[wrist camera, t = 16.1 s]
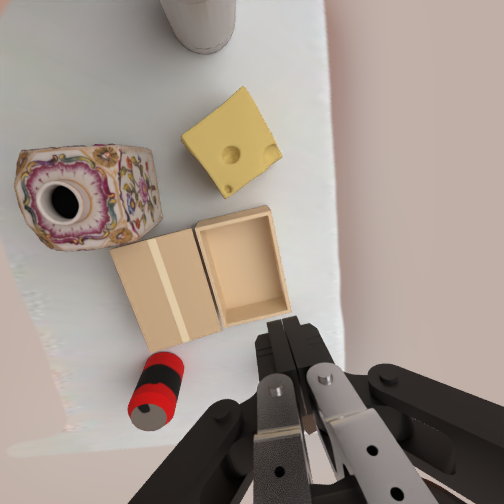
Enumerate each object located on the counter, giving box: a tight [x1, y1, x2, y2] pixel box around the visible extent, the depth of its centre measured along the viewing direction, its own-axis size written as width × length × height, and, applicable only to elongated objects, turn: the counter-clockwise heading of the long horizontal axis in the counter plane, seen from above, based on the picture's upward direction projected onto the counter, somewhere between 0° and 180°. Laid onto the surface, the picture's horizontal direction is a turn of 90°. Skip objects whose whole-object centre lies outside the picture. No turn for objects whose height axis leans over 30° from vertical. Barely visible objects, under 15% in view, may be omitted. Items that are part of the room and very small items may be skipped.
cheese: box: [181, 86, 282, 199], centre depth 41 cm, size 10×11×10 cm
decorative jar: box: [14, 144, 163, 251], centre depth 38 cm, size 12×12×18 cm
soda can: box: [128, 352, 184, 431], centre depth 52 cm, size 8×8×12 cm
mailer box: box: [195, 205, 292, 328], centre depth 49 cm, size 18×12×6 cm, turn 13°
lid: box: [109, 228, 222, 353], centre depth 46 cm, size 18×12×1 cm, turn 13°
